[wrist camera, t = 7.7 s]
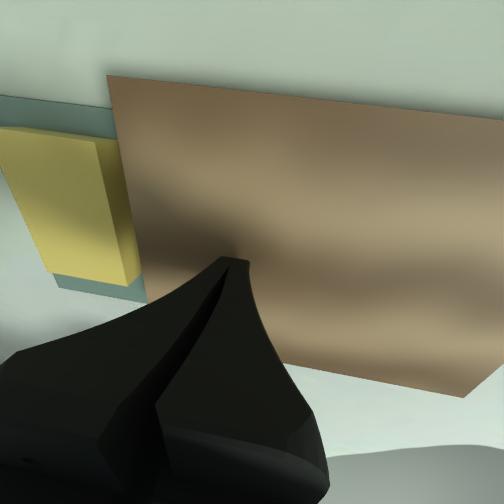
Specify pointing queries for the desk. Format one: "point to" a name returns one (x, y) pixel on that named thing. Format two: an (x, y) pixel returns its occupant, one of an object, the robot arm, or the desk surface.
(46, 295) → the desk surface
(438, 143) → the brown flat block
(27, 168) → the yellow rectangular block
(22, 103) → the mat
